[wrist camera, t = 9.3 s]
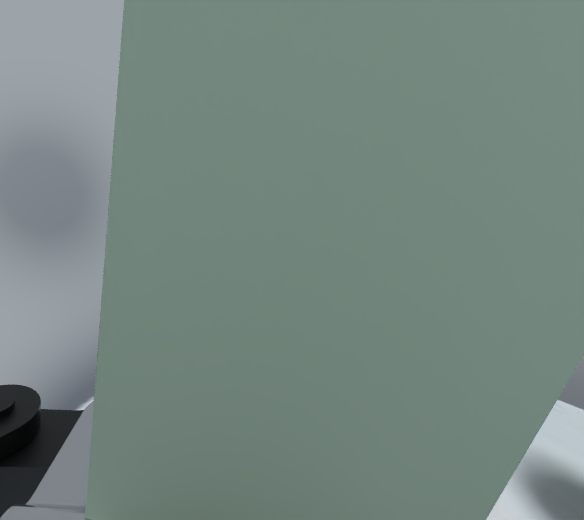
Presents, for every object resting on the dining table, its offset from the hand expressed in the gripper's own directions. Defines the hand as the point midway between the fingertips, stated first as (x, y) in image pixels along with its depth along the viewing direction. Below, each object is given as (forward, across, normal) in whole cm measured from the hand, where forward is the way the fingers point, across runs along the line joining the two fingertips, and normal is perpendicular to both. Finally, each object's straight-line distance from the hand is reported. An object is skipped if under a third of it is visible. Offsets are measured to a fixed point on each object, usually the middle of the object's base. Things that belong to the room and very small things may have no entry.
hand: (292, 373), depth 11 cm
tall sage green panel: (-3, 0, +10) cm, 10 cm away
